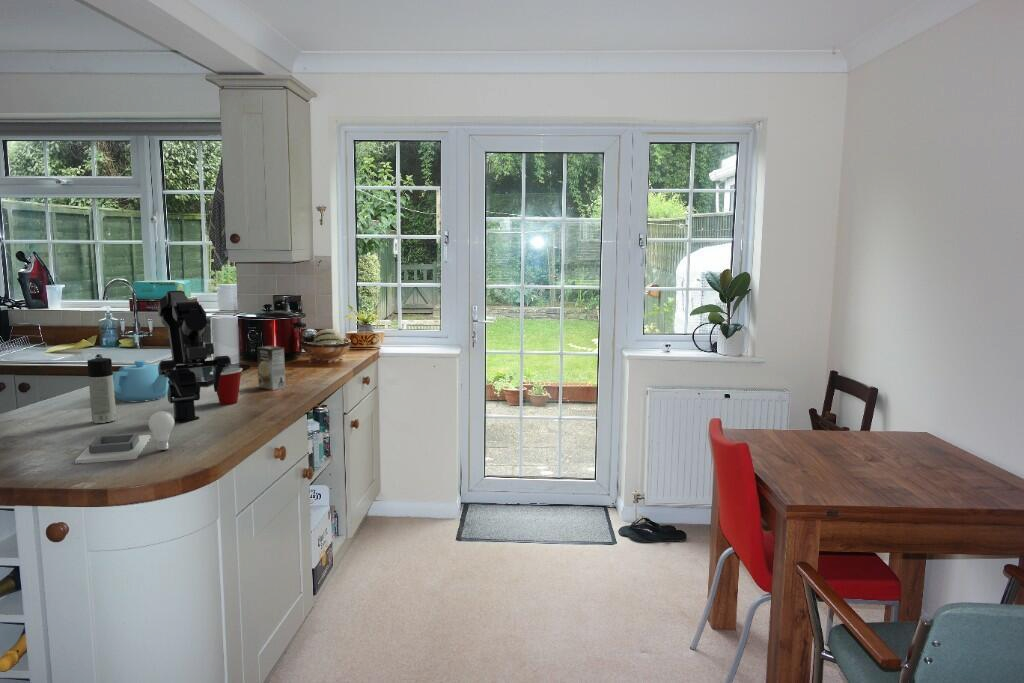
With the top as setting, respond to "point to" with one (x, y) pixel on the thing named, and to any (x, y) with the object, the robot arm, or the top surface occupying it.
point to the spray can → (101, 390)
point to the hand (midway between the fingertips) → (198, 393)
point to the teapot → (139, 382)
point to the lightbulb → (161, 427)
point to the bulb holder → (113, 448)
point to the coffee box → (271, 367)
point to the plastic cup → (229, 385)
